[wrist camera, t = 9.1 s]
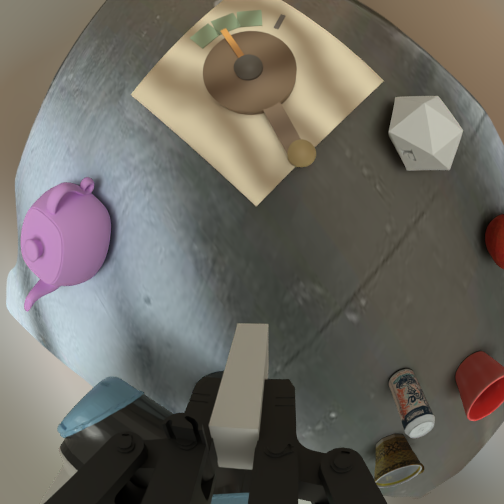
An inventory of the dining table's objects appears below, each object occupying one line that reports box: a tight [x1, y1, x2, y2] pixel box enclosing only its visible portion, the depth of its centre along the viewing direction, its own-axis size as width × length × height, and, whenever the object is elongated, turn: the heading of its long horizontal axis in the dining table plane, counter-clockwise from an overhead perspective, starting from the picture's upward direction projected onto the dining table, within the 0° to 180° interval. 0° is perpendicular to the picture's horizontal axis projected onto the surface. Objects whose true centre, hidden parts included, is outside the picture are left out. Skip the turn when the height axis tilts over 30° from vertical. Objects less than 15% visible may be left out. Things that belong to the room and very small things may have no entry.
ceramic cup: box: [374, 434, 424, 488], centre depth 39 cm, size 13×10×10 cm
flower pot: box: [455, 351, 504, 421], centre depth 32 cm, size 11×11×10 cm
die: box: [389, 96, 463, 170], centre depth 24 cm, size 8×9×10 cm
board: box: [131, 0, 383, 206], centre depth 28 cm, size 22×22×1 cm
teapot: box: [21, 177, 111, 311], centre depth 32 cm, size 20×13×12 cm, turn 149°
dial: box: [203, 28, 316, 167], centre depth 24 cm, size 18×10×7 cm, turn 28°
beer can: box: [389, 369, 435, 438], centre depth 33 cm, size 5×5×12 cm
